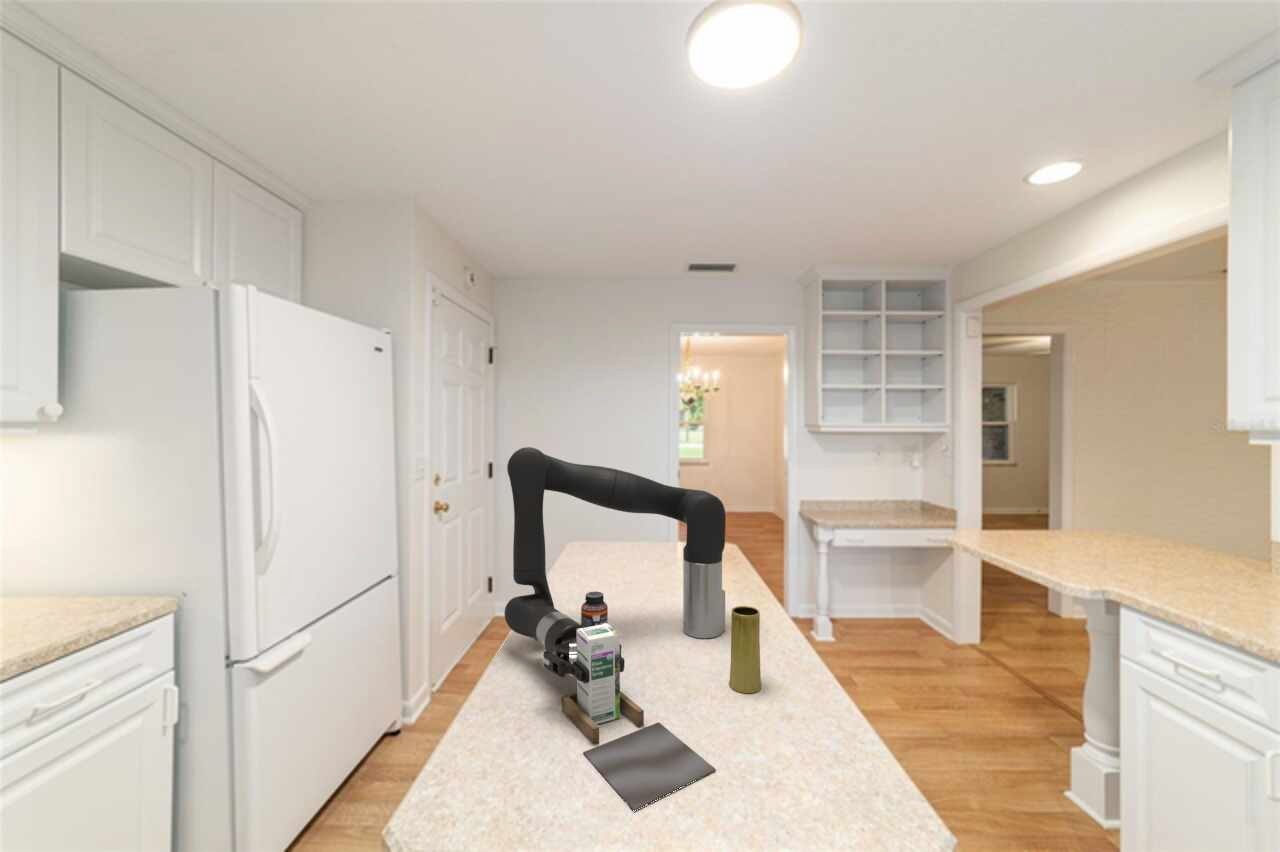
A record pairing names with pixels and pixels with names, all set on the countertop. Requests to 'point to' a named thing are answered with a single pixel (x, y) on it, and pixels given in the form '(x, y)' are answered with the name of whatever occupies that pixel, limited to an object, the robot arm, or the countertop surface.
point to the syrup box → (599, 672)
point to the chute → (638, 756)
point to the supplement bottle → (594, 610)
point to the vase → (745, 650)
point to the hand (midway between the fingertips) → (605, 671)
